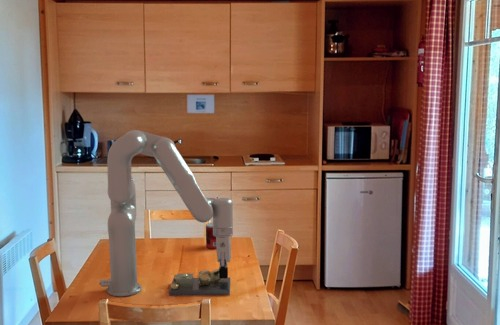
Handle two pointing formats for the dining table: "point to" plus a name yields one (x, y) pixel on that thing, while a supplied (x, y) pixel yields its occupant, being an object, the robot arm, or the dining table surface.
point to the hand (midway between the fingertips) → (223, 277)
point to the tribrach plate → (198, 286)
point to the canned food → (210, 237)
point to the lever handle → (207, 276)
